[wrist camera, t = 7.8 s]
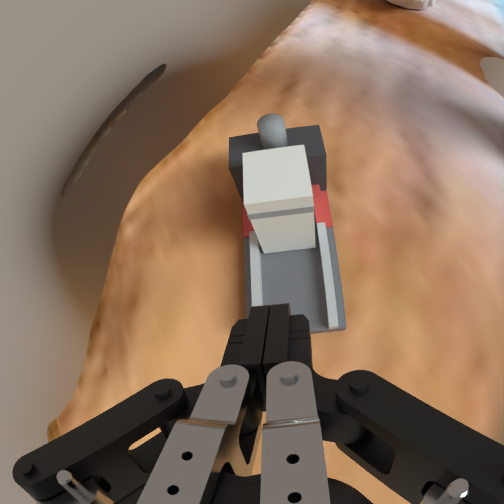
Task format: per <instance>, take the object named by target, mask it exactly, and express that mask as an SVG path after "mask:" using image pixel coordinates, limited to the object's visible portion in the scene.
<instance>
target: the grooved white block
mask: <svg viewBox="0 0 504 504" xmlns="http://www.w3.org/2000/svg"><path fill="white" fill-rule="evenodd" d="M242 154H243V192H244V206H245V209H246V211H247V216H248V218H249V220H250V221H251V223H252V226H253V228H254V230H255V233H256V235H257V238H258V240H259V243H260V245H261V247H262V250H263V252H264V253H273V252H282V251H290V250H299V249H308V248H316V246H315V223H314V212H315V209H314V201H313V193H312V186H311V180H310V175H309V169H308V163H307V158H306V152H305V147H304V145H296V146H288V147H281V148H273V149H266V150H259V151H253V152H246V153H242Z"/></svg>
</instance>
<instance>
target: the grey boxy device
mask: <svg viewBox="0 0 504 504" xmlns="http://www.w3.org/2000/svg"><path fill="white" fill-rule="evenodd" d="M257 127H258V131H259V133H253V134H247V135H241V136H235V137H230V138H229V170H230V172H231V174H232V177H233V179H234V182H235V184H236V186H237V189H238V191H239V194H240V196H241V199H242V203H243V237H244V262H245V295H246V319H248V318H249V314H250V309H251V307H252V306H262V305H270V306H271V305H272V304H283V303H289V304H290V310H291V315H298V314H304V315H305V317H306V318H307V319H308V320H309V325H310V334H313V333H323V332H332V331H340V330H345V329H346V319H345V310H344V301H343V293H342V286H341V278H340V271H339V264H338V257H337V250H336V244H335V238H334V231H333V224H332V218H331V213H330V207H329V201H328V196H327V191H326V152H325V148H324V144H323V139H322V135H321V131H320V127H319V125H314V126H305V127H296V128H288V129H285V123H284V119H283V117H282V116H280V115H278V114H267V115H264V116H262V117H261V118H260V119H259V120H258V122H257ZM296 145H304V147H305V152H306V158H307V163H308V169H309V175H310V180H311V186H312V193H313V201H314V209H315V212H314V223H315V246H316V248H308V249H299V250H290V251H282V252H273V253H264V252H263V250H262V247H261V245H260V243H259V240H258V238H257V235H256V233H255V230H254V228H253V226H252V223H251V221H250V220H249V218H248V216H247V211H246V209H245V206H244V192H243V154H242V153H246V152H253V151H259V150H266V149H273V148H281V147H288V146H296Z"/></svg>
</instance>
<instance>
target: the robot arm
mask: <svg viewBox="0 0 504 504" xmlns="http://www.w3.org/2000/svg"><path fill="white" fill-rule="evenodd" d="M263 411H266V424H263V429H262V424H261V420H262V412H263ZM158 427H159V428H160V430H161V431H162V432H160V433H159V434H157V435H156V436H154V437H153V438H151V439H149V440H148V441H146V442H145V443H143V444H142V445H140V446H138V447H137V448H135V449H133V450H128V449H129V447H130V446H131V445H132V444H133V443H135V442H136V441H138V440H139V439H141V438H143V437H144V436H146V435H147V434H149V433H150V432H152V431H153V430H155V429H157V428H158ZM261 431H262V461H261V474H258V475H253V476H252V470H253V465H254V461H255V457H256V453H257V448H258V444H259V440H260V435H261ZM322 440H324V441H330V442H335V443H336V445H337V447H338V448H339V449H340V450H341V451H342V452H344V453H345V454H346V455H347V456H349V457H350V458H351V459H352V460H354V461H355V462H356V463H357V464H359V465H360V466H361V467H363V468H364V469H365V470H366V471H368V472H369V473H370V474H372V475H373V476H374V477H376V478H377V479H378V480H380V481H381V482H382V483H384V484H385V485H386V486H388V487H389V488H390V489H392V490H393V491H394V492H396V493H397V494H399V495H400V496H401V497H403V498H404V499H406V500H407V501H408V502H410V503H411V504H504V445H502V444H500V443H498V442H496V441H494V440H492V439H490V438H488V437H486V436H484V435H483V434H481V433H479V432H477V431H475V430H473V429H471V428H470V427H468V426H466V425H464V424H462V423H460V422H459V421H457V420H455V419H453V418H451V417H449V416H448V415H446V414H444V413H442V412H440V411H439V410H437V409H435V408H433V407H432V406H430V405H428V404H426V403H424V402H423V401H421V400H419V399H417V398H416V397H414V396H412V395H410V394H409V393H407V392H405V391H404V390H402V389H400V388H398V387H397V386H395V385H393V384H392V383H390V382H388V381H386V380H385V379H383V378H381V377H380V376H378V375H376V374H375V373H373V372H370V371H366V370H355V371H351V372H348V373H346V374H344V375H343V376H341V377H340V378H339V379H338V380H334V379H328V378H324V377H322V376H320V375H318V374H317V373H316V372H315V371H314V370H313V366H312V348H311V336H310V325H309V320H308V319H307V318H306V317H305V315H304V314H298V315H291V310H290V304H289V303H283V304H272V305H271V306H270V305H262V306H252V307H251V309H250V314H249V318H248V319H239V320H238V321H237V322H236V324H235V325H234V326H233V327H232V329H231V332H230V337H229V339H228V344H227V346H226V349H225V353H224V356H223V359H222V363H221V366H220V367H219V368H217V369H215V370H213V371H212V372H211V373H210V374H209V376H208V377H207V380H206V382H205V383H204V384H201V385H197V386H193V387H188V388H183V386H182V384H181V383H180V382H179V381H177V380H175V379H161V380H158V381H155V382H154V383H152V384H150V385H149V386H147V387H145V388H144V389H142V390H140V391H139V392H137V393H135V394H134V395H132V396H130V397H129V398H127V399H125V400H124V401H122V402H120V403H119V404H117V405H115V406H114V407H112V408H110V409H108V410H107V411H105V412H103V413H101V414H100V415H98V416H96V417H94V418H93V419H91V420H89V421H87V422H86V423H84V424H82V425H80V426H79V427H77V428H75V429H73V430H71V431H70V432H68V433H66V434H64V435H62V436H60V437H58V438H57V439H55V440H53V441H51V442H49V443H47V444H45V445H43V446H42V447H40V448H38V449H36V450H34V451H32V452H30V453H28V454H26V455H24V456H23V457H21V458H20V459H19V460H18V461H17V462H16V463H15V465H14V468H13V478H14V480H15V482H16V483H17V484H18V485H20V486H21V487H22V488H23V489H24V490H25V491H26V492H27V493H29V494H30V496H31V497H32V498H33V499H34V500H35V501H36V502H37V504H373V503H372V502H371V501H369V500H368V499H367V498H366V497H365V496H364V495H362V494H361V493H360V492H359V491H358V490H356V489H355V488H353V487H352V486H350V485H348V484H346V483H344V482H341V481H338V480H336V479H331V478H327V471H326V463H325V456H324V448H323V441H322Z"/></svg>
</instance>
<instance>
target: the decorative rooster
mask: <svg viewBox="0 0 504 504" xmlns="http://www.w3.org/2000/svg"><path fill="white" fill-rule="evenodd" d="M387 1H388V2H390V3H392V4H395V5H398V6H401V7H404V8H407V9H418V10H423V9H426V8H427V7H432V6H433V4H434V3H435V1H436V0H387Z"/></svg>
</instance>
